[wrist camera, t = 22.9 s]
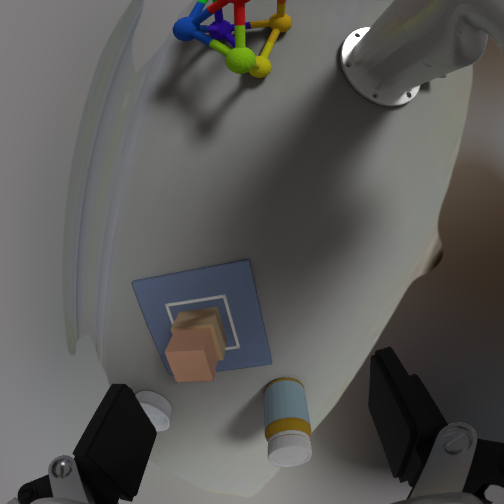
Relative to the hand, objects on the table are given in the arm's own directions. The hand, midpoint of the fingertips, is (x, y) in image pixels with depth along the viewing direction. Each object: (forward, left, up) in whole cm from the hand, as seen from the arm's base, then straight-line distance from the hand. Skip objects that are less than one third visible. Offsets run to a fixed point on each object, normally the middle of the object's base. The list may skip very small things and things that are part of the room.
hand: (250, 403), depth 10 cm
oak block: (+11, +13, -30) cm, 34 cm away
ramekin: (+27, +30, -31) cm, 51 cm away
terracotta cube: (+11, +13, -25) cm, 30 cm away
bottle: (+1, +29, -31) cm, 42 cm away
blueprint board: (+11, +13, -30) cm, 35 cm away
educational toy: (-3, -26, -31) cm, 40 cm away
